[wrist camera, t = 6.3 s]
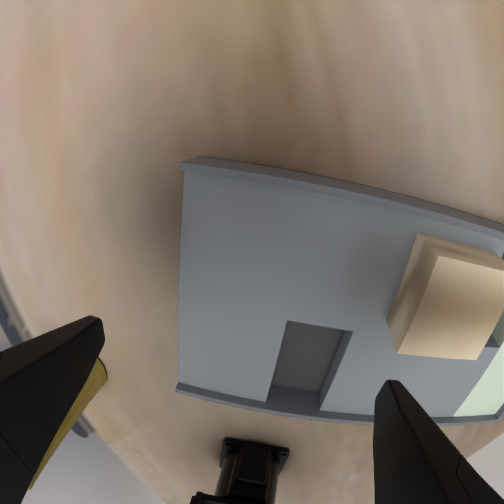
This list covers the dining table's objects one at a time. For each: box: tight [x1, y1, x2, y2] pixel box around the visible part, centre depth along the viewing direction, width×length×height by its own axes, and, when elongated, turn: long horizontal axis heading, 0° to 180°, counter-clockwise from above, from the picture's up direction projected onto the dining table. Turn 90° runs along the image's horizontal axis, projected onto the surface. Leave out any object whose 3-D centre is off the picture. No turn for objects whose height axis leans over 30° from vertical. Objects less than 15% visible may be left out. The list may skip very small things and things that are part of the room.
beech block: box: [386, 232, 504, 360], centre depth 14 cm, size 6×6×3 cm
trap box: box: [176, 156, 504, 426], centre depth 18 cm, size 16×28×3 cm, turn 82°
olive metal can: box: [28, 358, 107, 490], centre depth 20 cm, size 6×6×14 cm
